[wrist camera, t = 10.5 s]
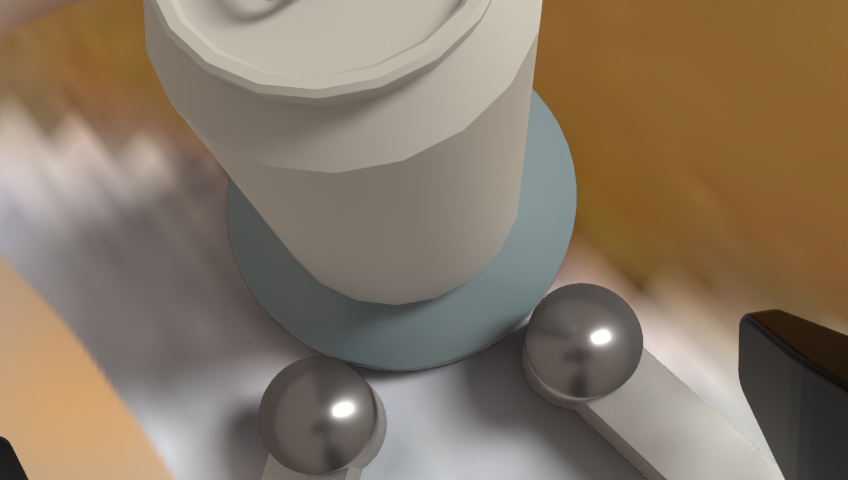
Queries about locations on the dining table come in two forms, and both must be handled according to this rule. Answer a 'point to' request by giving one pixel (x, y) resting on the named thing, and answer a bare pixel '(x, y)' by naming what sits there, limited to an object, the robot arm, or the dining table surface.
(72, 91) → the dining table surface
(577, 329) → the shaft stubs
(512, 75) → the can
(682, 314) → the dining table surface
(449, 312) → the pad
